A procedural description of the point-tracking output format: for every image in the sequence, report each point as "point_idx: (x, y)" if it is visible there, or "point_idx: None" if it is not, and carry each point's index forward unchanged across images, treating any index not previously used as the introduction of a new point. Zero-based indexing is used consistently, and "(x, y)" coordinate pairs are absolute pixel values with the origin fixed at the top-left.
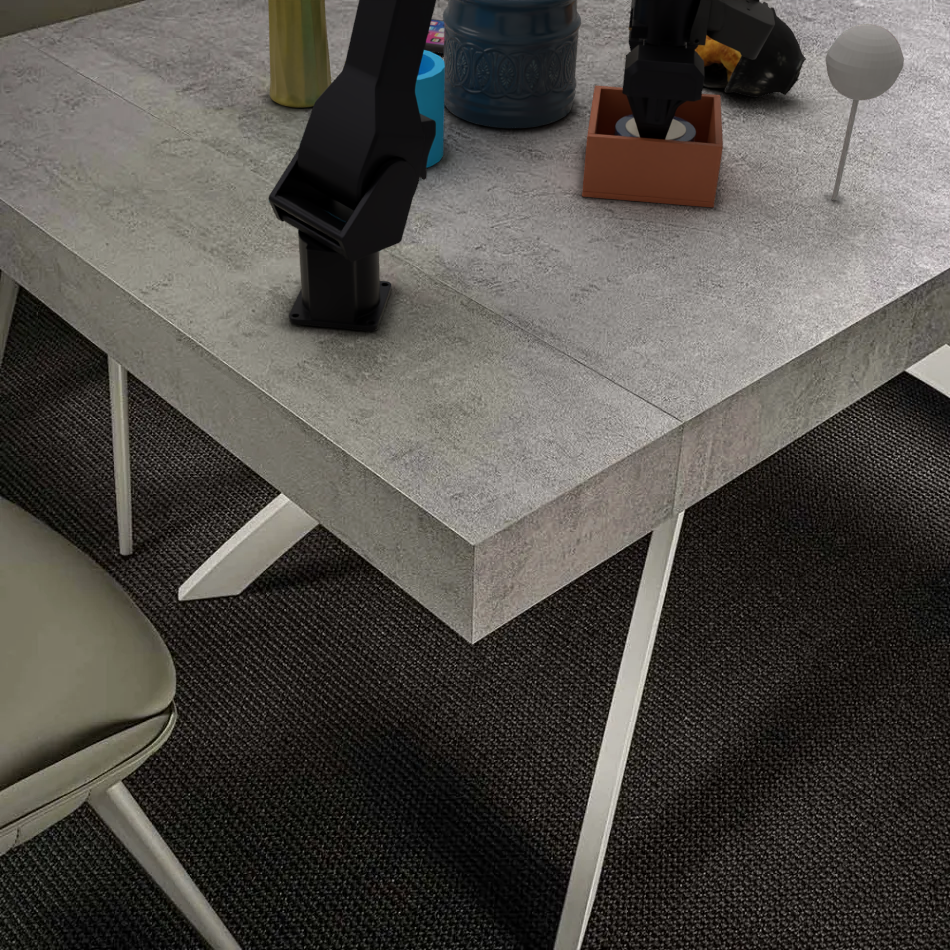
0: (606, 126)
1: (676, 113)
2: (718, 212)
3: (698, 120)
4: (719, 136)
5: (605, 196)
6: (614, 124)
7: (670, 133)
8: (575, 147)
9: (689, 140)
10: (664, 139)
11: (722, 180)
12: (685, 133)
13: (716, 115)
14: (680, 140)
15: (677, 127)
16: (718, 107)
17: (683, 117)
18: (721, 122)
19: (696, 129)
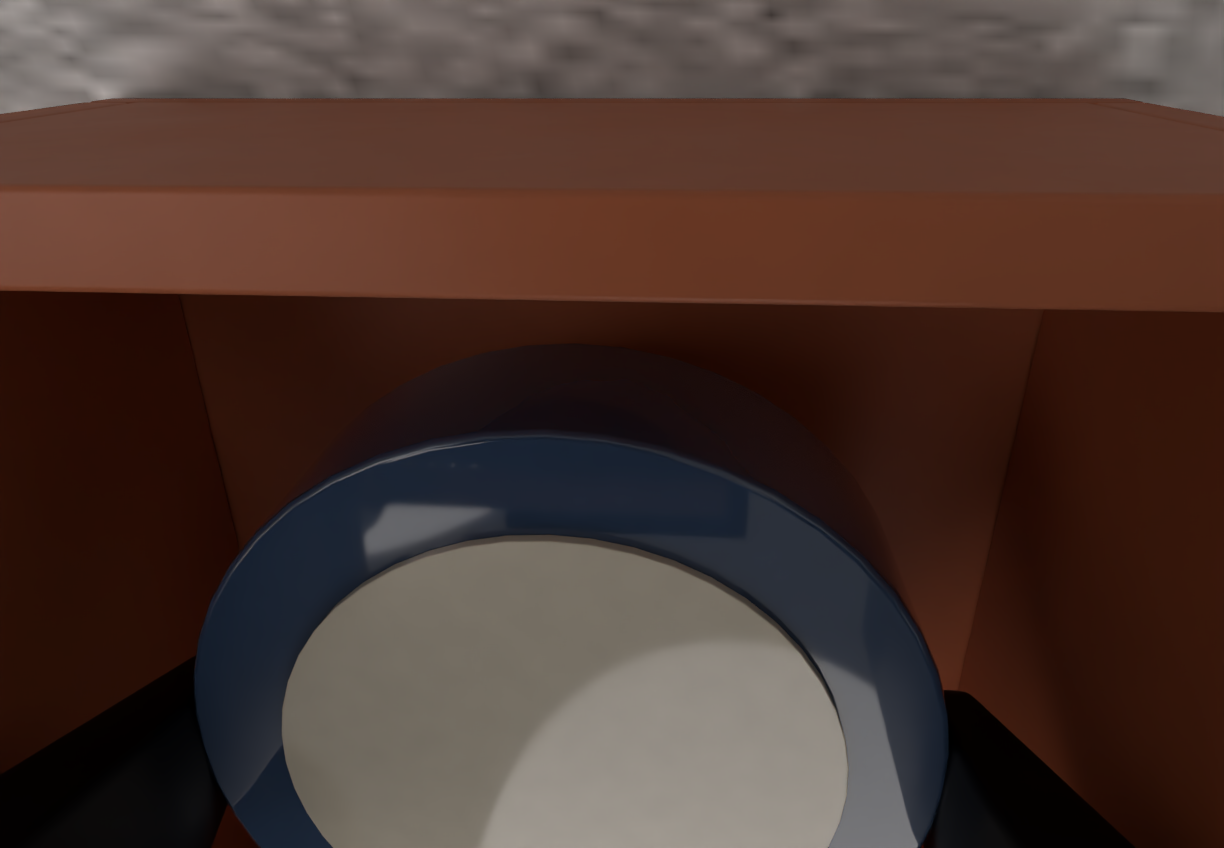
0: (247, 836)
1: (34, 551)
2: (1203, 55)
3: (5, 329)
4: (1218, 250)
5: None
6: (228, 816)
7: (681, 679)
8: None
9: (797, 507)
10: (1127, 841)
11: (592, 10)
12: (617, 538)
13: (342, 270)
14: (813, 591)
15: (507, 613)
16: (14, 228)
17: (32, 470)
18: (596, 195)
19: (66, 305)
